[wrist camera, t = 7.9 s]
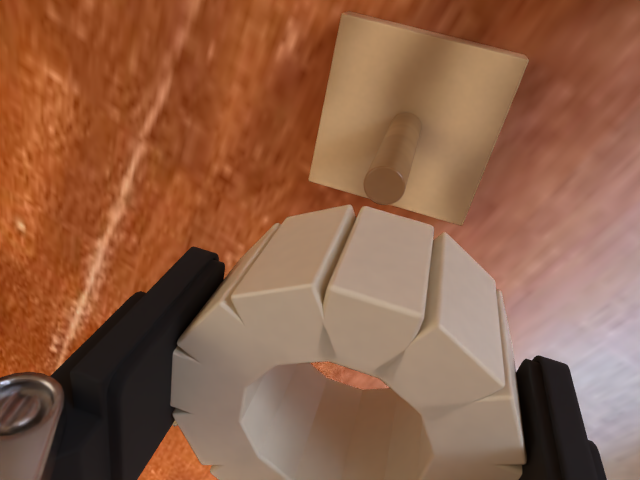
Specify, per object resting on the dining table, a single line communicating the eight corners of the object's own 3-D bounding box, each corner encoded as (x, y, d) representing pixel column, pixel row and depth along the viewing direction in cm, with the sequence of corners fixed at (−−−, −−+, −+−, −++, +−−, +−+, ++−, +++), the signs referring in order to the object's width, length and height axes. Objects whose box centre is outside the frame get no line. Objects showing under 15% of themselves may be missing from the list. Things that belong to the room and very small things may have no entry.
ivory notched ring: (561, 261, 9) (598, 371, 7) (451, 462, 13) (448, 587, 10) (248, 169, 10) (175, 237, 8) (221, 382, 13) (165, 479, 11)
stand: (526, 54, 24) (556, 100, 16) (462, 214, 28) (460, 313, 20) (347, 10, 25) (290, 32, 17) (314, 171, 29) (257, 249, 21)
